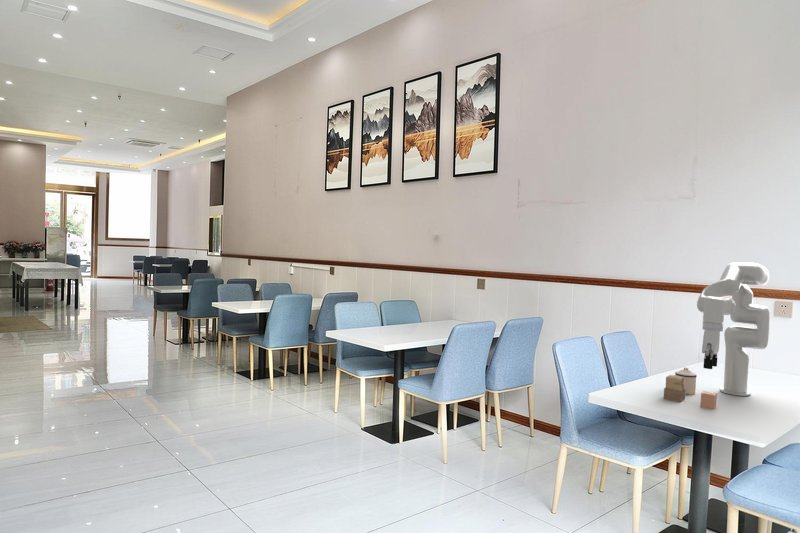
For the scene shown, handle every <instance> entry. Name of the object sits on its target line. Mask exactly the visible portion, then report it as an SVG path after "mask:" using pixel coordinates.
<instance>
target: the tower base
mask: <svg viewBox="0 0 800 533" xmlns="http://www.w3.org/2000/svg"><path fill="white" fill-rule="evenodd" d="M663 400H667V401H671V402H672V401H673V402H677V403H682V402H684V401H685V400H686V394H685V388H684V389H682V390H681V391H679V390H673V389H667V388H666V386H665V387H664V390H663Z"/></svg>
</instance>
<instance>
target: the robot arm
mask: <svg viewBox="0 0 800 533" xmlns="http://www.w3.org/2000/svg"><path fill="white" fill-rule="evenodd" d="M769 279H770V273H769V270H768V269H767V268H766V267H765V266H763V265H761V264H759V263H756V262H731V263H728V264H727V265H726V266H725V268H724V270H723V272H722V275H721V276H720V278H719V280H718V281H716V282H713V283H711V284H709V285H707V286H705V287H704V288H703V289H702V290H701V293H700V294H699V297H698V298H697V301H696V308H697V310H698V311H699V312H700V313H702V314H703V315H702V330H703V336H702V345H701V346H702V347H701V353H702V354H704V358H703V369H707V370H713V367H717V366H718V353H719V350H720V339H721V338H720V336H721V332H723V331H724V334H723V335H724V343H725V344H724V346H725V352H724V353H725V355H724V356H725V358H724V376H723V386H722V387H720V388H719V391H720V392H721V393H724V394H727V395H732V396H740V397H747V396H751V395H752V393H751V391H750V390H748V378H749V377H748V375H749V364H750V363H749V362H750V359H749V358H750V357H749V354H748V352H747V351H746V348H747V349H754V350H764V349H766V348H767V347H768V344H769V338H770V337H769V336H770V326H771V325H770V324H771V312H770V311H771V310H770V309H769V308H768V307H767V306H766V305H760V304H753V303H754V302H753V301H754V293H753V291H752V290H751V288H750V287H749V286H765V285H767V283H768V282H769ZM748 285H749V286H748ZM727 296H731V298H729V297H727ZM729 315H730V320H731V321H732V322H733V323H735V324H740V325H742V324H743V325H750V326H756V327H747V326H740V325H739V326H738V325H732V326H731V325H730V326H728V327H726V328H725V330H724V317H725V316H729Z"/></svg>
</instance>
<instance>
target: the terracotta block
mask: <svg viewBox="0 0 800 533" xmlns="http://www.w3.org/2000/svg"><path fill="white" fill-rule="evenodd" d="M717 399H718V393H716V392H712V391H711V392H710V391H704V390H703V391H702V392H701V393H700V408H703V409H709V410H715V409H716V408H717Z"/></svg>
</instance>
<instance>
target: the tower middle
mask: <svg viewBox="0 0 800 533" xmlns="http://www.w3.org/2000/svg"><path fill="white" fill-rule="evenodd" d="M673 375H674V374H670V375H669V374H668V375H666V377H665V387H666V388H667V389H673V390H679V391H681V390H682V389H684V377H679V376H673Z"/></svg>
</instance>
